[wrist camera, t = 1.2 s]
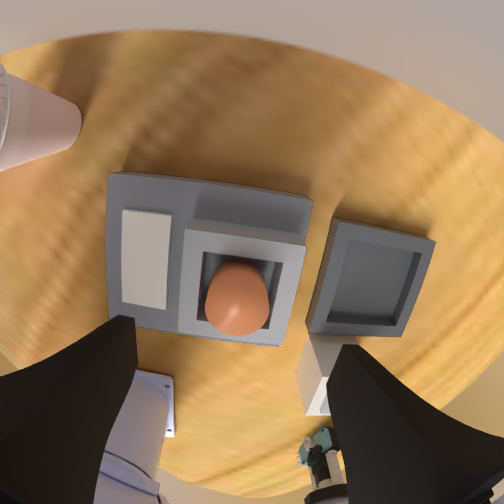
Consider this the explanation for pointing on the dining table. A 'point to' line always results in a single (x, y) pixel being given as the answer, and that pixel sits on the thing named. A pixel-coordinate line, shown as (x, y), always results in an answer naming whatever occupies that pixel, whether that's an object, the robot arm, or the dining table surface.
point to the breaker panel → (199, 249)
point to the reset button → (237, 298)
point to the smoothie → (33, 122)
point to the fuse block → (318, 370)
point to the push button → (324, 468)
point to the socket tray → (368, 280)
